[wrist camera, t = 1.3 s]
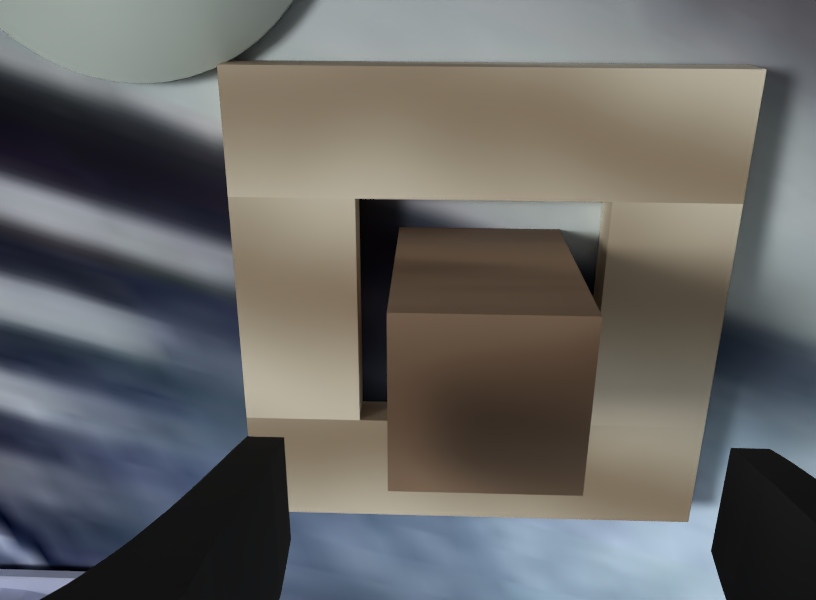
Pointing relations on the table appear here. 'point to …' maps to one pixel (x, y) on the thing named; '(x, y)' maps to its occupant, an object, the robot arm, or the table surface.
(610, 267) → the pocket block
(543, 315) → the walnut block
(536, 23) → the table surface
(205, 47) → the disc
